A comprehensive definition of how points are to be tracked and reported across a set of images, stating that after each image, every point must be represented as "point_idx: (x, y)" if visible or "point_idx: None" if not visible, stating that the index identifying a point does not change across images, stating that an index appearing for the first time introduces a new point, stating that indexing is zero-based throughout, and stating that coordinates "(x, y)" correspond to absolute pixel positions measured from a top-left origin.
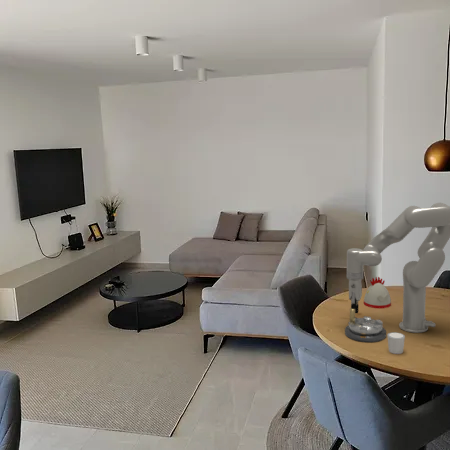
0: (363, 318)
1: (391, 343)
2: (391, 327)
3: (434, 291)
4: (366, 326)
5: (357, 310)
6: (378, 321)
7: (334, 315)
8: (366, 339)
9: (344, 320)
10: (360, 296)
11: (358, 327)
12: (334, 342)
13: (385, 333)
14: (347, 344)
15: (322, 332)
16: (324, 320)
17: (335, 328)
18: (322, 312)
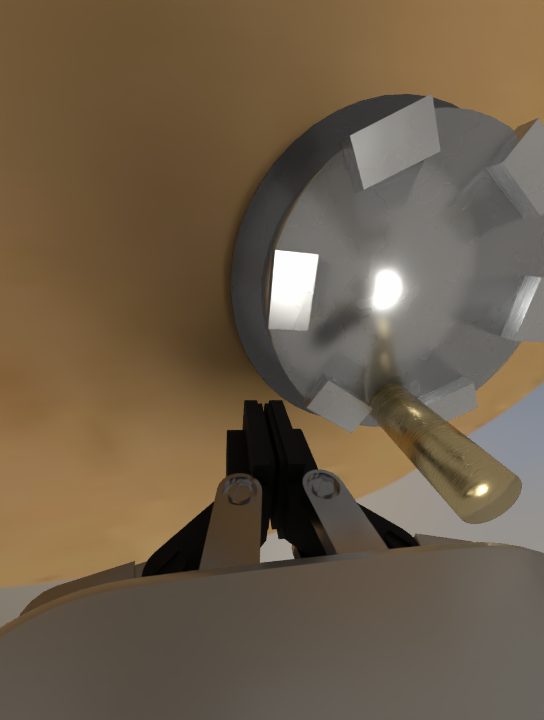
0: (304, 327)
1: None
2: (178, 26)
3: None
4: (473, 288)
5: (287, 420)
6: (412, 154)
7: (80, 502)
8: None
9: (149, 437)
10: (490, 652)
11: (487, 349)
12: (471, 430)
13: (452, 107)
14: (500, 372)
15: (357, 496)
16: None
17: None
18: (59, 562)
